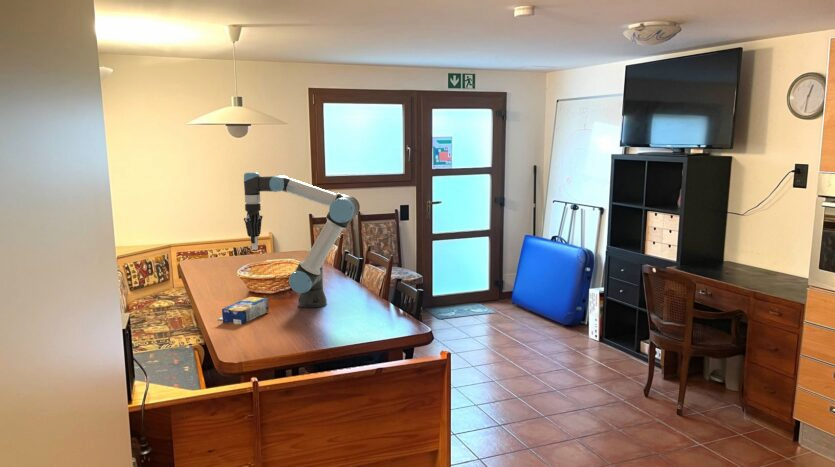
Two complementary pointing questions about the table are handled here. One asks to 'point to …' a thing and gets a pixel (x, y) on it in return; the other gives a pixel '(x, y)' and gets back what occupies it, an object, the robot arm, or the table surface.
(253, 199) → the robot arm
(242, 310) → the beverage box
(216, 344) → the table surface
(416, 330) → the table surface
